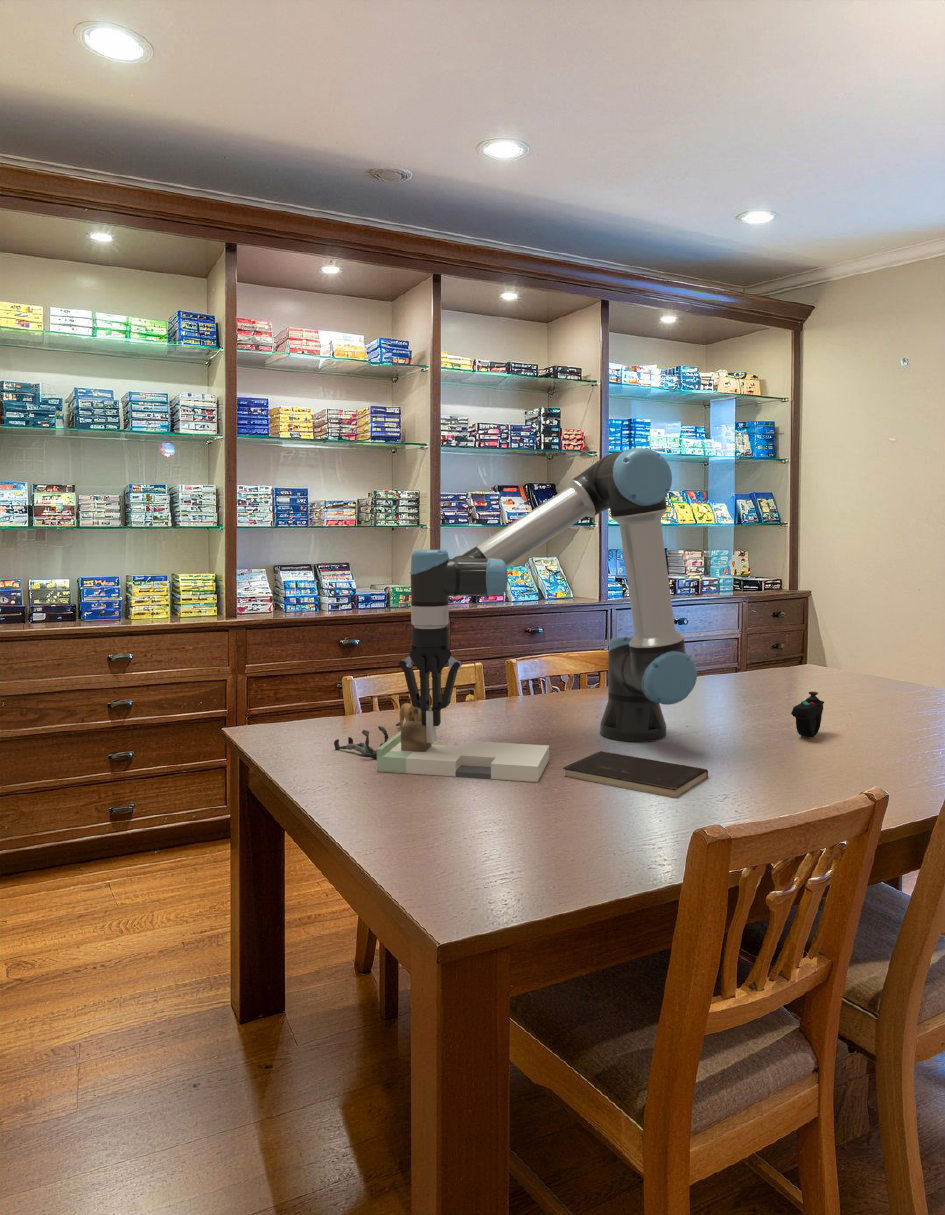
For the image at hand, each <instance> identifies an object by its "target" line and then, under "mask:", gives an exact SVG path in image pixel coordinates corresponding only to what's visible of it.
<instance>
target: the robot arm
mask: <svg viewBox="0 0 945 1215" xmlns="http://www.w3.org/2000/svg"><path fill="white" fill-rule="evenodd" d="M672 484H673V474H672V469H671V467H670V465H669V462H668V461H667V460H666V458H665V457H664V456H663V455H661V454H660V453H659V452H657V451H655V450H654V449H650V448H647V447H646V448H643V447H642V448H641V447H636V448H635V447H633V448H630V449H625V450H622V451H618V452H612V453H609V454H607V455H605V456H603V457H602V458H600V459H599V460H598V461H596V462H594V463H593V464H591V466H589V467H588V468H586V469H585V470H584V471H582V472H581V473H579V474H578V475H577V476H575V477H574V478H572V479H571V480H569V481H568V485H567V488H565V489H564V490H562V491H560V492H558V493H557V494H556V495H554V496H552V497H551V498H549V499H547V500H546V501H544V502H543V503H541V504H540V505H538V506H536V507H535V508H534V509H531V511H528V513H525V514H524V515H523V516H521V517H519V518H518V519H516V520H515V521H512V523H510V524H509V525H506V526H505V527H504V528H502V529H500V530H499V531H497V532H495V534H493V535H492V536H489V537H488V538H486V539H485V540H483V541H482V542H480V543H479V544H477V545H475V547H473V548H471V549H469V550H467V551H466V552H464V553H463V554H461V555H457V556H454V557H452V558H450V557H449V552H448V551H447V549H416V550H414V551H413V552H412V554H411V556H410V557H411V561H410V572H409V574H410V602H411V603H410V604H411V606H410V608H411V609H410V611H411V612H410V618H411V620H410V623H411V625H412V626H413V627H412V628H411V650H410V651H409V656H407V657H405V658H404V659H402V660H400V661H399V662H398V664H399V667H400V668H401V670H402V672H403V674H404V678H405V682H406V686H407V690H408V693H409V698H410V701H411V705H413V707H417V708H420V709H421V713H422V725H426V736H427V743H433V744H434V743H435V742H436V741H437V727H440V724H441V722H442V719H441V718H442V717H441V711H442V709H446V708H447V707H448V706H450V704H451V699H452V695H453V691H454V687H455V682H456V679H457V675H458V671H459V670H460V669H461V667H462V666H463V662H462V661H461V660H457V659H456V658H454V657H453V656H452V652H451V650H450V636H449V635H450V634H449V633H450V631H449V630H450V629H449V628H448V627H447V625H449V624H450V622H449V620H450V619H449V616H450V615H449V613H450V612H449V598H450V597H477V596H478V597H479V596H481V597H482V596H483V597H485V596H487V597H492V596H499V595H500V596H501V595H503V594H505V592H507V591H506V590H507V589H508V583H509V582H508V581H509V580H508V579H509V576H508V575H509V574H508V567H510V565H512V564H514V563H515V562H517V561H518V560H520V559H522V558H523V557H524V556H526V555H528V554H529V553H531V552H533V551H534V550H536V549H537V548H539V547H540V546H542V545H543V544H545V543H547V542H548V541H550V540H552V539H553V538H554V537H556V536H558V535H559V534H561V533H562V532H564V531H566V530H567V529H568V528H570V527H572V526H573V525H574V524H575V525H576V523H578V522H579V521H581V520H582V519H584V518H585V517H587V518H594V517H596V516H597V515H599V514H601V513H602V512H604V511H607V510H609V509H610V510H609V511H610V517H611V519H612V520H613V521H615V522H616V523H617V524H618V525H619V529H620V531H619V532H620V538H621V544H622V551H623V552H622V554H623V561H624V565H625V574H626V575H625V576H626V580H627V588H628V595H629V603H630V609H631V618H632V624H633V632H634V634H633V635H634V636H615V637H612V638H611V639H610V641H609V645H608V651H607V654H608V677H607V678H608V681H607V682H608V683H607V684H608V694H607V695H608V697H607V702H606V703H607V704H606V706H605V709H604V712H603V715H602V718H601V721H600V726H599V731H600V732H599V733H600V735H602V736H603V737H604V738H607V739H611V740H616V741H623V742H632V743H633V742H635V743H637V742H638V743H639V742H641V743H642V742H655V741H659V740H662V739H664V738H666V737H667V723H666V721H665V717H664V714H663V711H662V708H661V704H662V705H666V706H667V705H668V706H669V705H675V704H678V703H681V702H682V701H683V700H685V699H686V698H688V697H689V695H690V693H691V692H692V691H693V690H694V688H695V686H696V683H697V678H698V670H697V666H696V664H695V662H694V660H693V659H692V658H691V656H690V655H688V654H687V653H686V646H685V639H684V636H683V635H682V634H681V633H680V632H678V631H677V630H676V627H675V625H676V624H675V619H674V612H673V604H672V597H671V596H672V594H671V588H670V581H669V573H668V572H669V571H668V565H667V558H666V556H667V555H666V550H665V541H664V534H663V527H662V526H663V525H662V517H663V516H664V515H665V513H666V512H667V511H668V506H667V499H666V497H667V495H668V493H669V492H670V490H671V488H672ZM413 664H414V665H415V667H416V668H417V670H418V673H419V676H418V677H419V680H420V681H419V683H420V684H419V687H420V688H419V687H418V685H417V680H416V676H415V672H414V669H413ZM447 664H448V668H449V671H448V674H447V678H446V682H445V686H444V689H443V690H444V691H443V694H442V674H443V673H442V671H443V669H444V668H445V667H446V665H447ZM430 673H431V674H430ZM430 675H431V685H432V686H431V690H432V691H431V695H432V696H431V703H432V704H430ZM419 689H420V690H419ZM419 691H420V692H419ZM430 706H431V707H432V709H429V707H430Z"/></svg>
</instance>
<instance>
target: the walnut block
mask: <svg viewBox="0 0 945 1215" xmlns="http://www.w3.org/2000/svg"><path fill="white" fill-rule="evenodd" d="M431 746H432V743H427V736H426V725H422V722H418V721H408V722H406V721H405V723H403V725H402V726H401V751H414V752H426V751H427V750H428V749H429V748H430V747H431Z"/></svg>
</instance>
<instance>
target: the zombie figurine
mask: <svg viewBox="0 0 945 1215" xmlns="http://www.w3.org/2000/svg"><path fill="white" fill-rule="evenodd" d="M377 728H378V730H379V731H380V732H381V733H382V734H383V735H384V737H383V738H384V741H383V742H382V743H380V744H379V747H380V746H381V745H383V744H384V743H385V742H387V741H388V740H389V739H390V738H389V735H388V732H387V730H386V728H385V726H381V725H379V726H377ZM361 733H362V735H363V736H365V737H366V738H365V741H364V742H359V743H356V744H355V743H354V738H352V737H350V736H348V737H347V738H348V740H347V741H348V743H347V744H346V745H342V746H341V745H340V740H339V738H337V739H335V740H334V741H333V745H334V749H335V751H337V750H338V751H339V750H354V749H356V750H357V751H359V752H361V755H362V756H363V757H370V758H373V759H377V749H376V750H374V749H373V747H372V746H370V737H369V736H370V735H369V734H370V731H369V730H366V729H363V730H362V731H361Z"/></svg>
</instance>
